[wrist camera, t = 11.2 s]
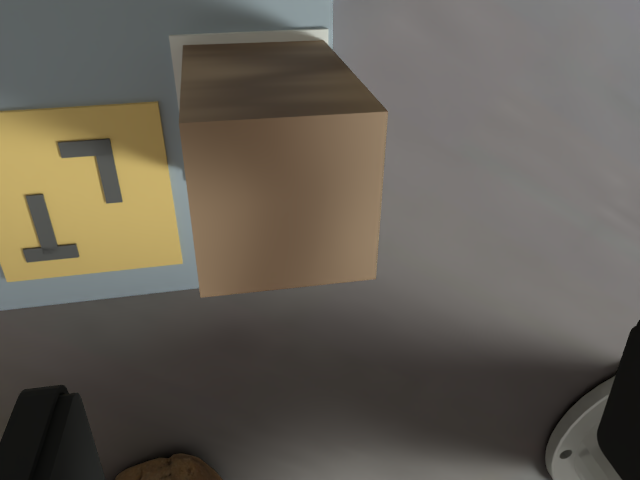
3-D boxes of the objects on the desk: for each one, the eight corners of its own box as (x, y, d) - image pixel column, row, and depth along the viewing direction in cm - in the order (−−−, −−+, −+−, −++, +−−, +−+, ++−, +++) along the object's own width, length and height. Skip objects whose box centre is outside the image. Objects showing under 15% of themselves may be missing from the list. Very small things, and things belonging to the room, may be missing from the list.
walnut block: (323, 40, 21) (388, 111, 14) (322, 167, 23) (375, 278, 17) (183, 44, 20) (179, 123, 13) (197, 176, 22) (200, 297, 16)
